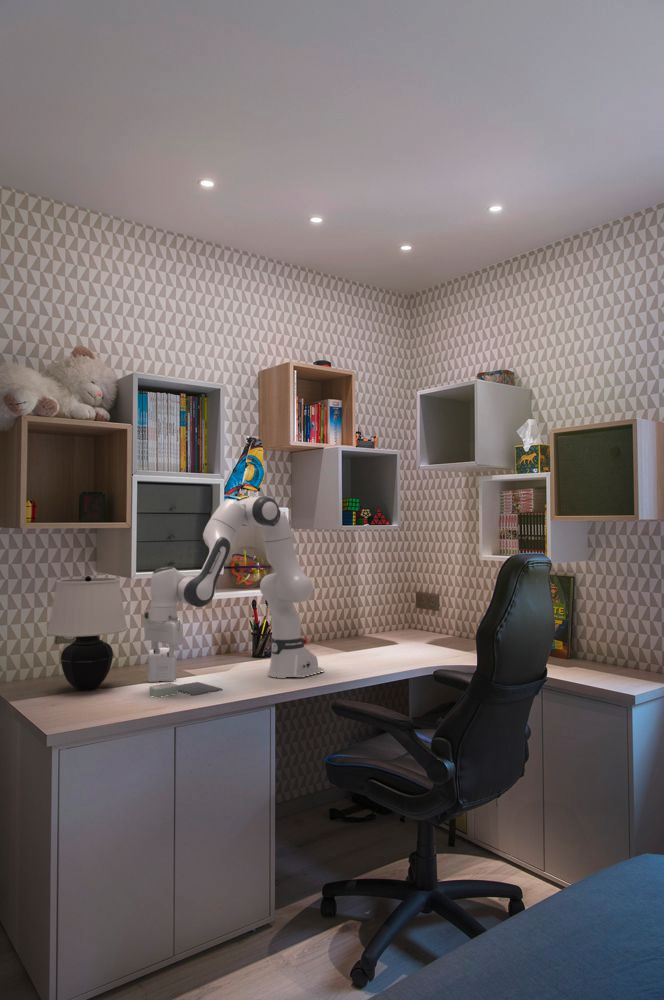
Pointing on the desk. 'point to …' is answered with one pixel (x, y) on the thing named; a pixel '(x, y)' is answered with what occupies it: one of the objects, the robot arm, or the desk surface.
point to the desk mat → (196, 688)
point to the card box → (163, 690)
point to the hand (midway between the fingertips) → (163, 655)
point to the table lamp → (87, 627)
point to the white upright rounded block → (161, 666)
